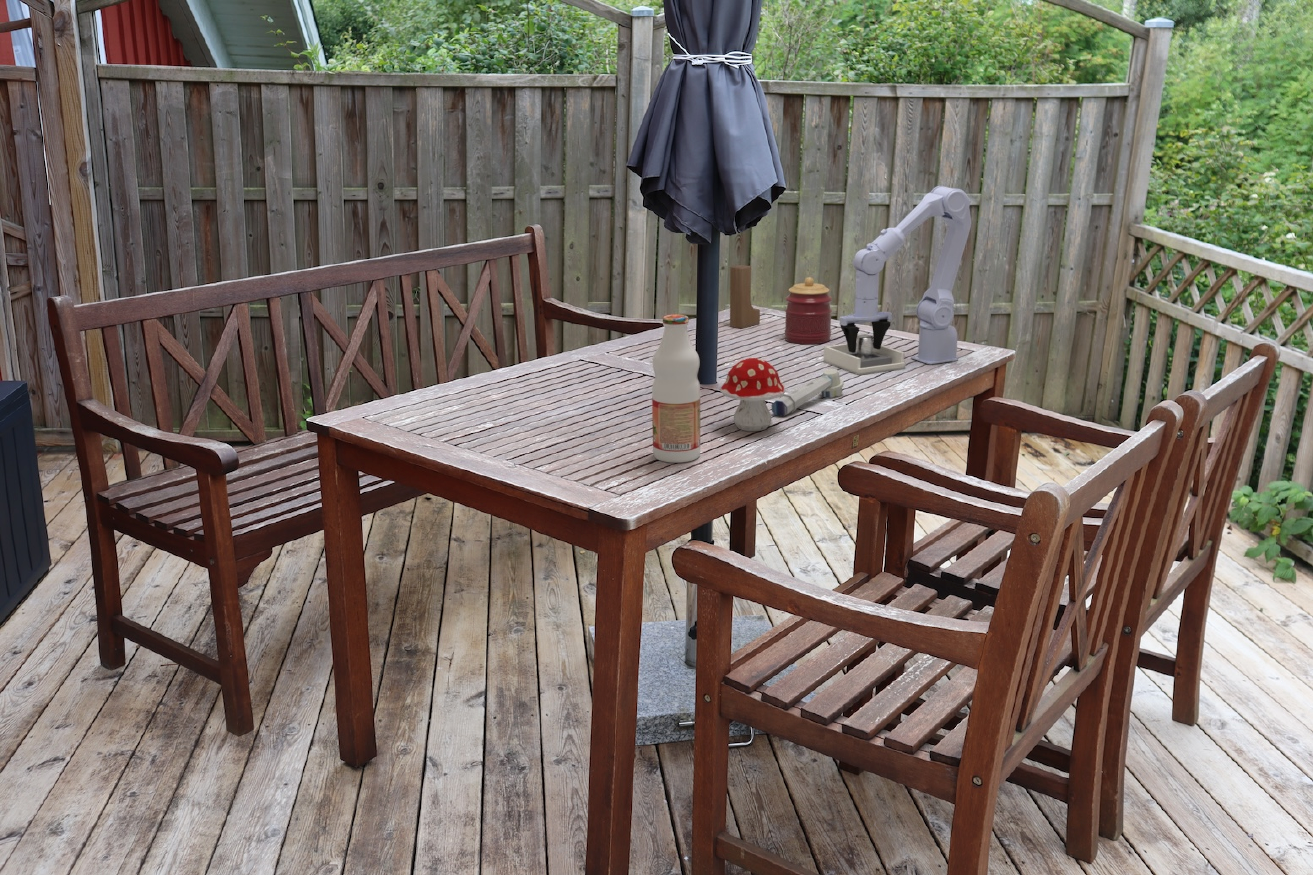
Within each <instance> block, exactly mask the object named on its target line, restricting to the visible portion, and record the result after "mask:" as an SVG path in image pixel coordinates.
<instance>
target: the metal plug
mask: <svg viewBox="0 0 1313 875" xmlns="http://www.w3.org/2000/svg"><path fill="white" fill-rule="evenodd" d="M856 343H857V355H856V357H858V358H861V359H868V358H872V352H873V335H871V334H858V335H857V341H856Z"/></svg>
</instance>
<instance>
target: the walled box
mask: <svg viewBox="0 0 1313 875" xmlns="http://www.w3.org/2000/svg"><path fill="white" fill-rule="evenodd" d="M856 355H857V342H856V352H855V353H852V352H849V350H848V345H847V343H844V344H843V343H842V344H834V345H827V346H823V363H826V364H828V365H831V366H834V367H836V368H839V369H842V370H845V371H847V372H850V373H851V374H855V375H857V376H863V375H871V374H878V373H885V372H891V371H899V370H905V369H906V362H904V361H905V352H903V351H900V350H898V349H895V348H891V347H889V346H885V345H882V344H881V348H880V349H875V348H873V352H872V358H868V359H861V358H858V357H856Z"/></svg>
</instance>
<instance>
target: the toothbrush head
mask: <svg viewBox="0 0 1313 875" xmlns="http://www.w3.org/2000/svg"><path fill="white" fill-rule="evenodd" d="M840 377H841V376H840V372H839V370H838V369H836V368H828V369H825V370H824V371H823V373H822V375H821V376H819V377H818V378H815V379H814V380H812V381H810V382H807V383H806V384H804V385H802V386H800V387H798V388H796V389H794V390H792V391H790V392H789V393H784V394H783V395H782V396H781V397H778V398H777V399H776V400H775V401H774V402H773V403H772V404H771V412H772V413H773V415H774V416H777V417H782V418H784V417H785V416H787V415H788V414H792V413H794V412H795V411H796V410H797V409H798V408H799V407H801V406H802V405H804V404H805V403H807V402H808V401H810V400H812V399H813V398H814V397H816V396H817V395H819V394H820V396H821V397H823V398H827V399H830V398H834V397H837V396H838V397H837V398H839V397H840V396H842V394H843V387H844V384H845V383H844V380H842V379H841V378H840Z"/></svg>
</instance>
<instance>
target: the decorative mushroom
mask: <svg viewBox="0 0 1313 875" xmlns="http://www.w3.org/2000/svg"><path fill="white" fill-rule="evenodd" d="M719 390H720V393H721V394H722V395H723V396H724V397H727V398H730V399H733V400H737V401H739V404H738V406H737V409H736V410H735V412H734V415H733V422H734V424H735V425H736V427H737V428H738V429H739V430H742V431H747V432H761V431H764V430H766V429H767V428H768V427H769V426H770V425H771V423H772V415H771V412H770V410H769V408H768V406H767V403H766V401H770V400H775V399H779V398H780V397H781V396H782V395H783V394H786V391H787V389H786V387H785V386H784V385H783V383H782V382H781V379H780V376H779V372H778V370H776V369H775V367H774V366H773V365H772V364H770V363H769V362H768V361H766V360H764V359H761V358H759V357H758V358H757V357H749V358H744V359H742V360H740V361H738V362H737V363H735V365H733V366H732V368H730V370H729V371H728V373H727V376H726V380H725V381H724V383H723V384H722V385H721V387H720V388H719Z"/></svg>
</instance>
